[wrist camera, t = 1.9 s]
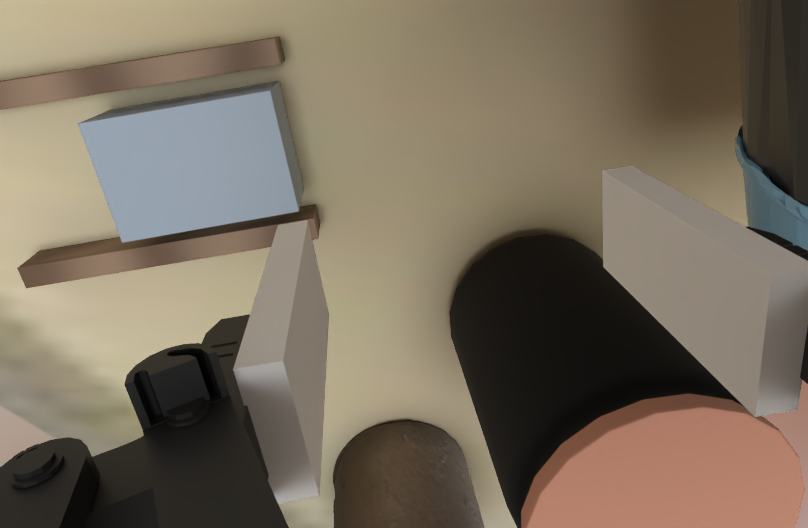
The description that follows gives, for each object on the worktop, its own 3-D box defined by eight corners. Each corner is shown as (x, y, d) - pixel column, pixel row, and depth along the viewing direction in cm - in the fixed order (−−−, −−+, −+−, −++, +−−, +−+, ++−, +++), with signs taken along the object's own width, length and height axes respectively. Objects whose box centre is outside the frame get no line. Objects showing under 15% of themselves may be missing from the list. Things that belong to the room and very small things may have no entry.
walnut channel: (279, 36, 31) (274, 38, 28) (319, 223, 35) (318, 238, 33) (-31, 86, 30) (-62, 92, 28) (47, 269, 34) (26, 288, 32)
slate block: (279, 80, 32) (270, 90, 28) (304, 187, 34) (298, 211, 30) (112, 109, 32) (77, 123, 27) (149, 214, 34) (122, 242, 30)
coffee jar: (438, 374, 40) (505, 631, 23) (455, 223, 36) (550, 406, 19) (591, 375, 41) (756, 620, 25) (623, 230, 37) (849, 407, 20)
